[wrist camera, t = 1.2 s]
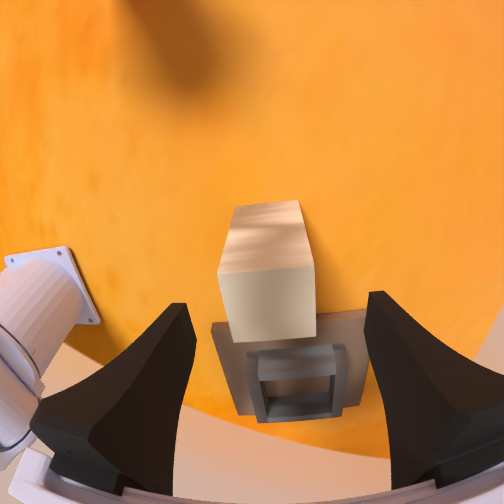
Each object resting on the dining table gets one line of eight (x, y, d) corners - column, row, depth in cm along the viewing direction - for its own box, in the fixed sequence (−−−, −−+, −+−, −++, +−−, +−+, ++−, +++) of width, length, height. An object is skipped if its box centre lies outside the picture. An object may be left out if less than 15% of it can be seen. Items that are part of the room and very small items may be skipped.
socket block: (239, 408, 31) (236, 434, 28) (212, 322, 25) (205, 353, 21) (357, 398, 29) (363, 424, 26) (372, 307, 23) (384, 337, 20)
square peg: (244, 260, 22) (233, 342, 15) (235, 206, 20) (216, 274, 13) (302, 254, 21) (316, 336, 14) (297, 199, 19) (314, 265, 12)
